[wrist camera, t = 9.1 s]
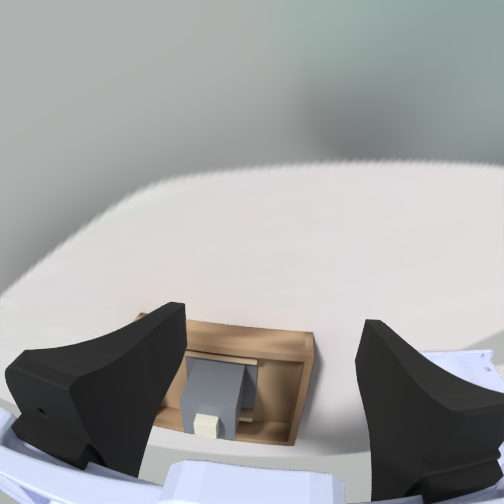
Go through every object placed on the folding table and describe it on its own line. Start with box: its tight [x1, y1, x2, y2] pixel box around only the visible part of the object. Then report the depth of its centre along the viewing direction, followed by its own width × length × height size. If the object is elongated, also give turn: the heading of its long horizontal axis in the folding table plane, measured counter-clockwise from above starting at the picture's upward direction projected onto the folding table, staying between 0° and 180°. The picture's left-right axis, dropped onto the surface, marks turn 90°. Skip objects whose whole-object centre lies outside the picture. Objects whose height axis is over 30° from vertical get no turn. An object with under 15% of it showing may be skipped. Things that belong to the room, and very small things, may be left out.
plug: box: [179, 358, 245, 441], centre depth 23 cm, size 4×4×6 cm
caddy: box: [133, 313, 314, 446], centre depth 25 cm, size 14×11×3 cm
